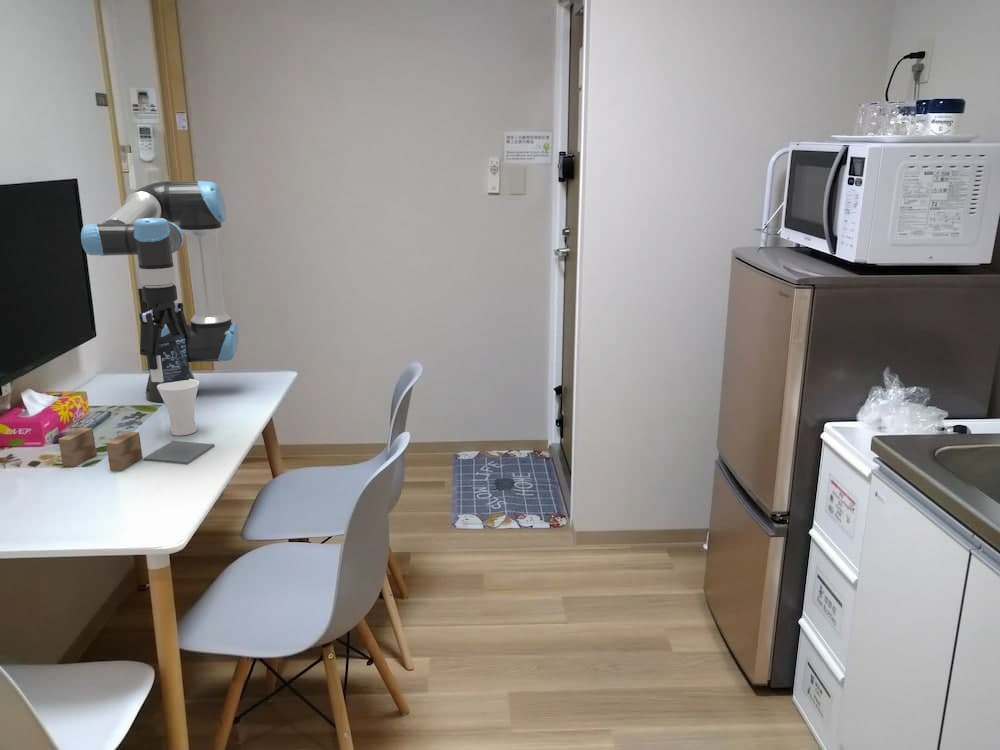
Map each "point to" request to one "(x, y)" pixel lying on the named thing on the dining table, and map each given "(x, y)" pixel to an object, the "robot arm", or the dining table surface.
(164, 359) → the box
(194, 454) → the mat
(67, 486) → the dining table surface
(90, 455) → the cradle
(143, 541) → the dining table surface
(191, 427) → the cup
